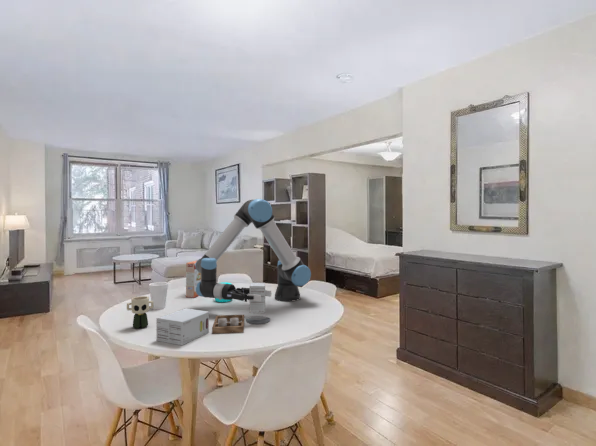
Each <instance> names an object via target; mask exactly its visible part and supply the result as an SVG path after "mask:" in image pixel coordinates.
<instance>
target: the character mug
mask: <svg viewBox="0 0 596 446" xmlns="http://www.w3.org/2000/svg"><path fill="white" fill-rule="evenodd" d="M130 306H131V307H130ZM153 307H154V303H153V301H151V300H150V298H149V296H145V295H143V296H141V295H140V296H134V297H132V298H131V301H130V302H127V303H126V311H131V312H132V313H131V314H134V315H133V319H132V328H134V329H140V327H141V328H146V327H147V326H149V320H148V315H147V313H148V312H149V311H150V309H152V308H153Z"/></svg>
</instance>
